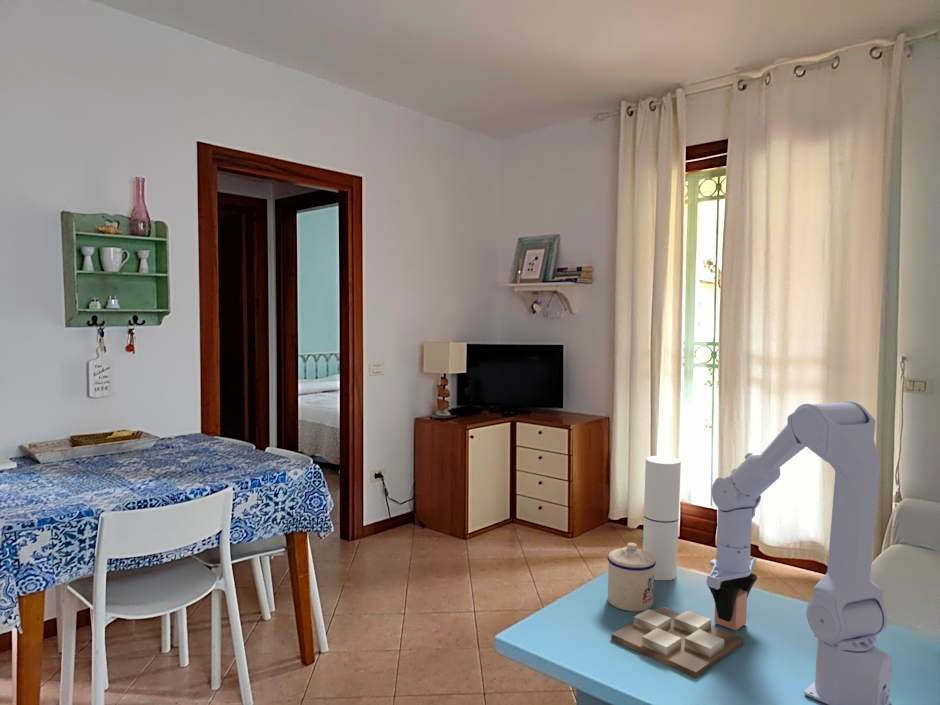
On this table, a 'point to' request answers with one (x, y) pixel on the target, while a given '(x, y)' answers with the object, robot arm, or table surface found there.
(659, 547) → the cylindrical container
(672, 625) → the walnut board
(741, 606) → the terracotta block
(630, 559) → the teacup with lid
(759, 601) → the table surface
